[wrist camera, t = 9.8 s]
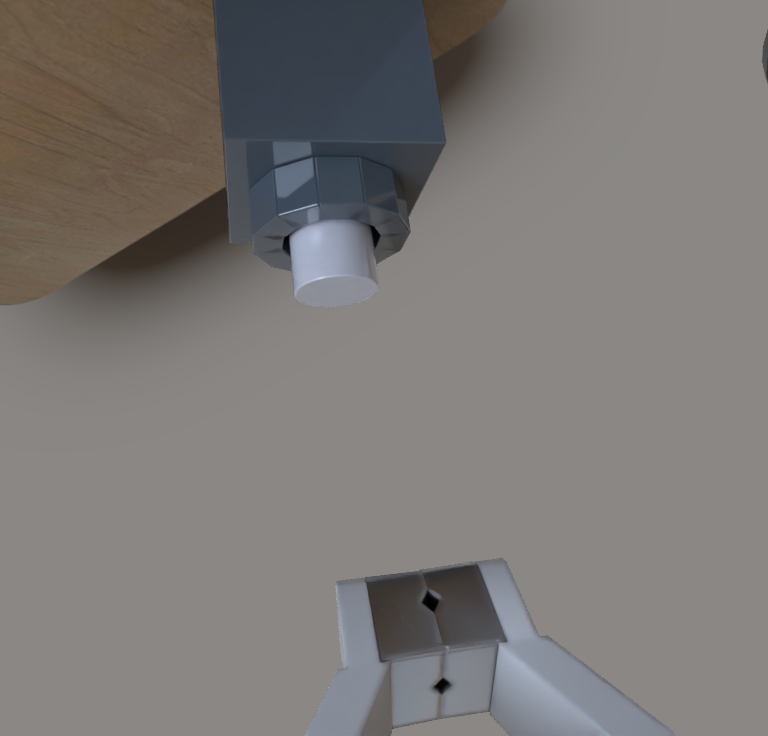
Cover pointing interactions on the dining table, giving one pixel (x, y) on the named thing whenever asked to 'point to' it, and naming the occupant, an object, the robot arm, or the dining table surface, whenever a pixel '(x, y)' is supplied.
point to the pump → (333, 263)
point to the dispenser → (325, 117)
